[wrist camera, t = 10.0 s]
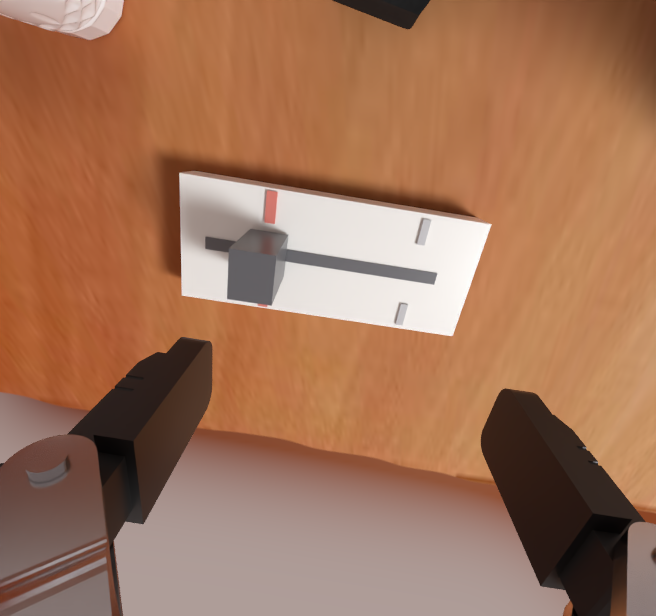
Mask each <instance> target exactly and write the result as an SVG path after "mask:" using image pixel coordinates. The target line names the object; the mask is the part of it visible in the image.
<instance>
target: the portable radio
mask: <svg viewBox="0 0 656 616" xmlns="http://www.w3.org/2000/svg"><path fill="white" fill-rule="evenodd" d="M333 1H336V2H338V3H341V4H343V5H346V6H349V7H351V8H354V9H356V10H359V11H361V12H364V13H367V14H369V15H372V16H374V17H377V18H379V19H382V20H384V21H387V22H390V23H392V24H395V25H397V26H400V27H402V28H405V29H410V28H411V27H412V26H413V24H414V23H415V21H416V19H417V18H418V16H419V15H420V13H421V12H422V11H423V9H424V8H425V7H426V6H427V4H428V3H429V1H430V0H333Z"/></svg>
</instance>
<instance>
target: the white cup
mask: <svg viewBox="0 0 656 616" xmlns="http://www.w3.org/2000/svg"><path fill="white" fill-rule="evenodd" d="M123 3H124V0H0V15H2V16H5V17H8V18H11V19H15V20H19V21H22V22H25V23H28V24H31V25H34V26H38V27H40V28H43V29H47V30H50V31H57V32H60V33H63V34H65V35H69V36H73V37H78V38H82V39H87V40H93V39H95V38H98V37H101V36H104V35H106V34H109V33H110V32H111V30H112V29H113V27H114V26H115V25H116V23H117V22H118V20H119V19H120V18H121V16H122V10H123Z"/></svg>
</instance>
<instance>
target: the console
mask: <svg viewBox="0 0 656 616" xmlns="http://www.w3.org/2000/svg"><path fill="white" fill-rule="evenodd" d="M179 181H180V229H181V276H182V296H189V297H195V298H202V299H209V300H215V301H222V302H229V303H235V304H242V305H248V306H255V307H262V308H268V309H275V310H282V311H288V312H295V313H302V314H308V315H315V316H322V317H328V318H335V319H342V320H348V321H355V322H362V323H368V324H375V325H382V326H388V327H395V328H401V329H408V330H415V331H421V332H428V333H435V334H441V335H448V336H453V333H454V330H455V327H456V325H457V322H458V319H459V316H460V313H461V310H462V307H463V305H464V302H465V299H466V296H467V293H468V290H469V287H470V284H471V282H472V279H473V276H474V273H475V270H476V267H477V264H478V262H479V259H480V256H481V253H482V250H483V247H484V244H485V241H486V239H487V236H488V233H489V230H490V227H491V224H490V223H487V222H485V221H483V220H481V219H479V218H477V217H471V216H465V215H459V214H453V213H447V212H441V211H435V210H429V209H423V208H417V207H411V206H405V205H398V204H392V203H386V202H380V201H374V200H368V199H362V198H356V197H350V196H344V195H338V194H332V193H326V192H320V191H314V190H308V189H302V188H296V187H290V186H284V185H278V184H272V183H266V182H260V181H254V180H248V179H242V178H236V177H230V176H224V175H218V174H212V173H206V172H200V171H188V172H181V173H179ZM249 229H256V230H262V231H269V232H275V233H281V234H287V235H288V243H287V253H286V262H285V271H284V277H283V280H282V282H281V284H280V287H279V289H278V292H277V294H276V296H275V299H274V301H273V304H272V306H270V305H263V304H257V303H250V302H243V301H237V300H230V299H227V285H228V258H229V248H230V247H231V246H232V245H233V244H234V243H235V242H236V241H237V240H239V239H240V238H241V237H242V236H243V235H244V234H245V233H246V232H247V231H248V230H249Z"/></svg>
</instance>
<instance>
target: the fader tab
mask: <svg viewBox="0 0 656 616" xmlns="http://www.w3.org/2000/svg"><path fill="white" fill-rule="evenodd" d="M287 243H288V235H287V234H281V233H275V232H269V231H262V230H256V229H249V230H248V231H247V232H246V233H245V234H244V235H243V236H242V237H241V238H240V239H239V240H237V241H236V242H235V243H234V244H233V245H232V246H231V247H230V248H229V258H228V285H227V299H230V300H237V301H243V302H250V303H257V304H263V305H270V306H272V304H273V301H274V299H275V296H276V294H277V292H278V289H279V287H280V284H281V282H282V280H283V277H284V271H285V262H286V253H287Z"/></svg>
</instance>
